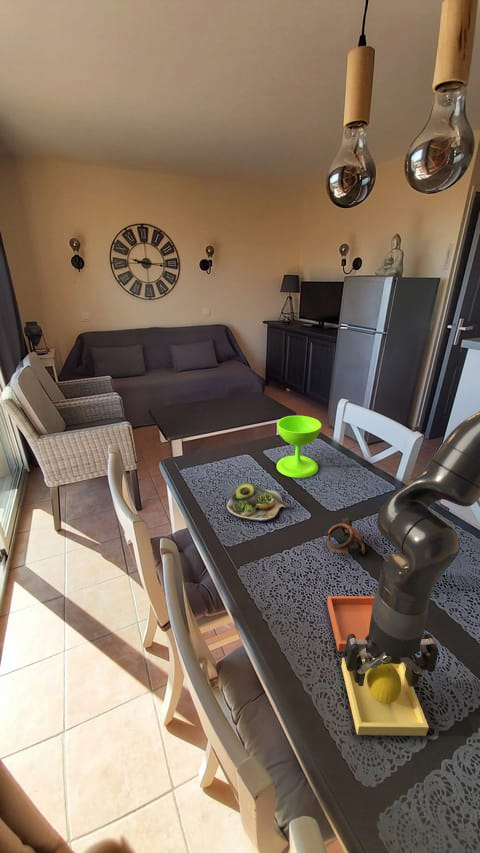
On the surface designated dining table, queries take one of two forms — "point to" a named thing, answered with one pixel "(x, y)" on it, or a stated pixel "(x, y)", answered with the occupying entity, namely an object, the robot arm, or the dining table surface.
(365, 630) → the terracotta tray
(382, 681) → the lemon
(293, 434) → the wineglass
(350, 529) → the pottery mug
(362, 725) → the cream tray
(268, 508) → the salad plate
